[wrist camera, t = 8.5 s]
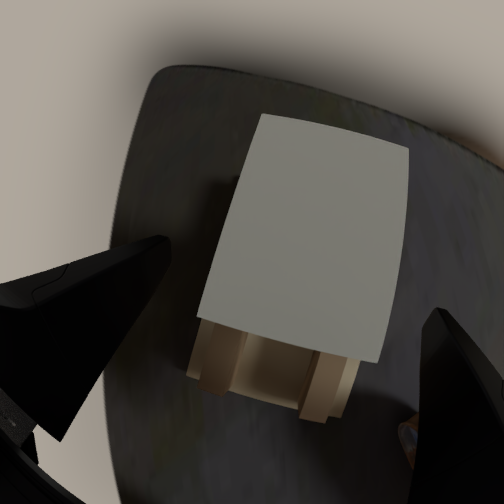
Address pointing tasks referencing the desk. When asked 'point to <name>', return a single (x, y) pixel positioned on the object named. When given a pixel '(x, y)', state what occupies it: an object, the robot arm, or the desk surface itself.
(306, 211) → the clay bar
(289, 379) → the rack
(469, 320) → the desk surface
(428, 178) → the desk surface
